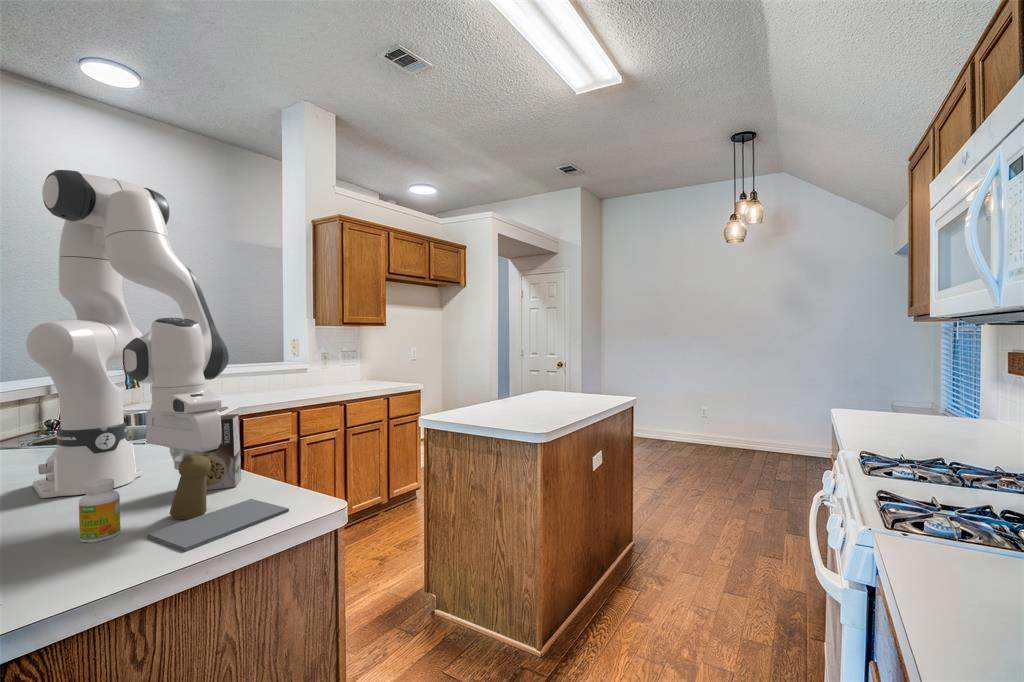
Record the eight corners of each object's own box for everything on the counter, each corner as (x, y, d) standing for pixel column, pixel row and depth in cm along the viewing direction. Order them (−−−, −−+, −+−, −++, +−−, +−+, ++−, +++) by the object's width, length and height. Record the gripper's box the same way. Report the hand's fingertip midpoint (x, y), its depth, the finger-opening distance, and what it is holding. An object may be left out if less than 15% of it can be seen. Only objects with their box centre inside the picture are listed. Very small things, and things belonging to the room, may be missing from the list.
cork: (187, 522, 89) (195, 468, 87) (161, 512, 90) (168, 458, 88) (214, 509, 94) (221, 457, 93) (189, 499, 96) (196, 449, 94)
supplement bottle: (74, 546, 79) (73, 488, 79) (85, 534, 84) (84, 479, 83) (115, 539, 81) (114, 483, 81) (124, 528, 86) (122, 475, 86)
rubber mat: (147, 537, 82) (147, 533, 82) (251, 501, 99) (251, 498, 99) (185, 551, 76) (185, 547, 76) (289, 511, 93) (288, 508, 93)
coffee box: (242, 479, 114) (240, 413, 114) (235, 487, 108) (234, 417, 108) (198, 483, 111) (197, 415, 111) (189, 492, 105) (187, 420, 105)
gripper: (134, 400, 95) (137, 468, 95) (191, 404, 85) (195, 480, 85) (169, 395, 100) (172, 460, 100) (226, 399, 91) (229, 470, 91)
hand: (183, 469), depth 93 cm, fingers closed
